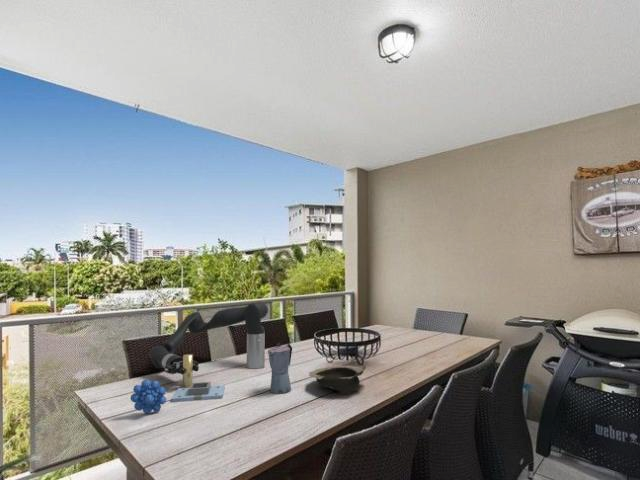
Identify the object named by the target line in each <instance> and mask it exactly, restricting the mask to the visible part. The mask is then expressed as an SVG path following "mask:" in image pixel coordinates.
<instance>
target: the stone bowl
mask: <svg viewBox="0 0 640 480" xmlns="http://www.w3.org/2000/svg"><path fill="white" fill-rule="evenodd" d="M366 368H367V367H366V366H365V365H364V366H359V367H358V366H354V365H353V366H351V365H338V366H337V365H334V366H327V367H321V368H317V369H314V370H311V371H310V372H309V374H308V376H310V377H312V378H315V380H316V382H317V384H318V385H319V386H321V387H324V388H327V389H329V388H331V389H332V390H337V393H338V395H340V396H343V395H349V394H351V393H352V394H353V393H354V391H357V390H359V388H360V383H361V382H360V378H359V376H362V375H363V373H364V371H365V370H366Z"/></svg>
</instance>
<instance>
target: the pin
mask: <svg viewBox="0 0 640 480" xmlns="http://www.w3.org/2000/svg"><path fill="white" fill-rule="evenodd" d="M182 357H183V369H184V370H185V371H184V374H183V375H182V387H181V388H189V387H190V385H191V383H193V375H194V374H193V373H194V372H193V371H194V370H193V360H194V354H193V353H186V354H183V355H182Z"/></svg>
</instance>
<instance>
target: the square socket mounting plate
mask: <svg viewBox="0 0 640 480" xmlns="http://www.w3.org/2000/svg"><path fill="white" fill-rule="evenodd" d="M211 382H212V381H202V382H192V383H191V385H190V387H189V388H182V387H179V388H177V390H176V391H175V393H174V394H173V396H172V398H171V403H174V402H175V403H177V402H188V401H189V402H190V401H203V400H218V399H223V398H224V393H225V388H226V386H225V385H224V384H223V385H211Z"/></svg>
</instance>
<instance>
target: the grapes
mask: <svg viewBox="0 0 640 480" xmlns="http://www.w3.org/2000/svg"><path fill="white" fill-rule="evenodd" d="M132 390H133V393H132V394H131V395H130V401H131V402H132V403H134V405H133V406H134V407H133V408H134V409H135V411H142V412H143V414H145V415H149V414H151V413H152V411H154V412H155V413H157V412H159V411H160V410H161V409H162V405H164V404H165V403H166V402H167V397H166V396H165V394H166V392H167V390H166V388H165V386H164V387H163V386H161V385H160V382H159V381H158V380H153V381H150V380H148V379H144V380H142V381H141V383H140V384H136V385H134V386H133V389H132Z"/></svg>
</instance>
